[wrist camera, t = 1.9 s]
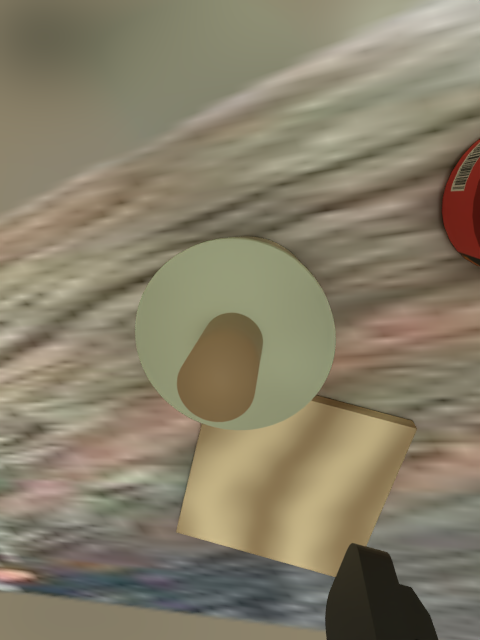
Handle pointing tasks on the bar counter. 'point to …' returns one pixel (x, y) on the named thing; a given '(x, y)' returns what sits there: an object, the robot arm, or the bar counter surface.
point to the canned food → (464, 205)
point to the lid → (235, 334)
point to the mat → (296, 483)
